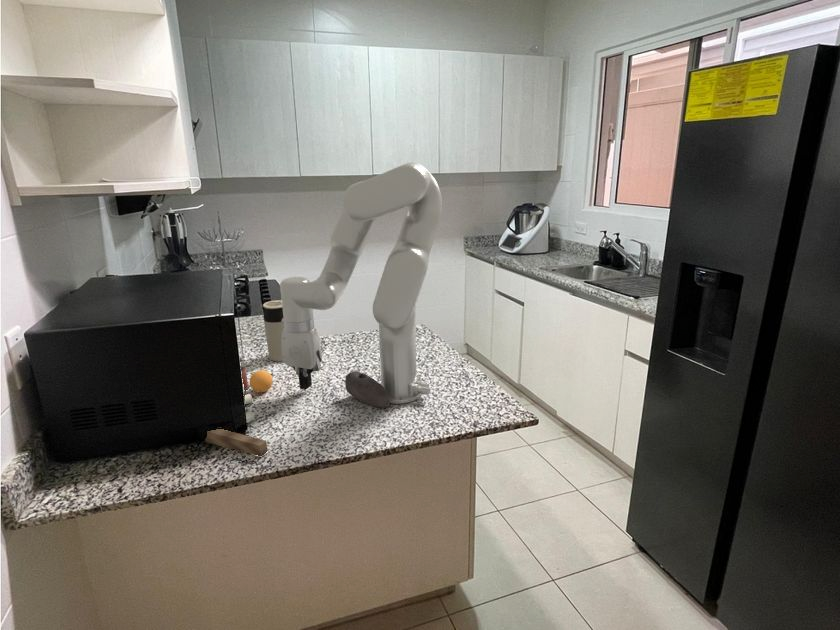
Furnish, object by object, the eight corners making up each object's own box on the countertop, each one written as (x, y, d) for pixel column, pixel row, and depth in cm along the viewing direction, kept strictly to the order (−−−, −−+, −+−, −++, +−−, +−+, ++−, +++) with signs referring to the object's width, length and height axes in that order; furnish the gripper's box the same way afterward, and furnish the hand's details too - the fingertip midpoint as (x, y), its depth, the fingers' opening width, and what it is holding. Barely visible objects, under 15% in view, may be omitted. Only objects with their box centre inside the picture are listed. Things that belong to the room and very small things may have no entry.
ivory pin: (249, 401, 129) (217, 412, 124) (247, 392, 129) (215, 403, 123) (253, 403, 128) (220, 415, 122) (251, 395, 127) (219, 406, 122)
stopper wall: (267, 452, 107) (266, 440, 106) (261, 457, 105) (260, 445, 104) (206, 435, 114) (204, 424, 113) (200, 439, 112) (197, 428, 111)
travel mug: (279, 364, 151) (272, 309, 145) (263, 358, 156) (256, 304, 150) (299, 355, 157) (294, 302, 151) (284, 350, 162) (277, 298, 156)
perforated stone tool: (396, 408, 124) (395, 383, 122) (381, 416, 121) (380, 391, 119) (359, 389, 134) (357, 366, 132) (344, 396, 131) (342, 373, 129)
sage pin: (248, 419, 121) (220, 436, 114) (246, 410, 120) (217, 426, 113) (255, 421, 119) (227, 438, 112) (253, 411, 119) (224, 428, 112)
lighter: (222, 387, 137) (216, 354, 134) (231, 382, 140) (226, 350, 137) (242, 393, 133) (237, 359, 130) (252, 387, 136) (247, 355, 133)
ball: (250, 378, 137) (271, 372, 138) (254, 397, 134) (276, 391, 136) (245, 370, 131) (267, 364, 133) (249, 391, 129) (272, 384, 130)
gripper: (267, 325, 126) (275, 388, 132) (314, 333, 121) (320, 398, 127) (285, 316, 133) (292, 377, 139) (331, 323, 127) (336, 386, 133)
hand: (306, 387), depth 133 cm, fingers closed
